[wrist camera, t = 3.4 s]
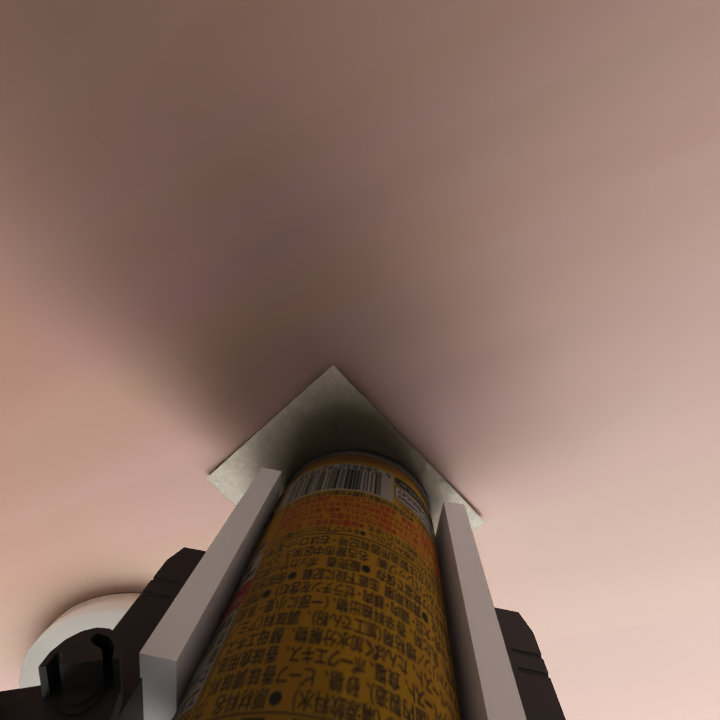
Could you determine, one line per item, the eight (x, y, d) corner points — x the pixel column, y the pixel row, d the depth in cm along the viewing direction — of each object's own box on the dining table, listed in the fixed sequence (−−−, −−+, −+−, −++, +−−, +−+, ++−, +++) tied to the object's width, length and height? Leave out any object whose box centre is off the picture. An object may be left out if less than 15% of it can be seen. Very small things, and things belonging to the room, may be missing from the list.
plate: (24, 567, 17) (-6, 592, 15) (312, 626, 16) (306, 657, 15) (52, 758, 21) (30, 791, 19) (287, 814, 20) (279, 851, 19)
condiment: (349, 606, 16) (224, 1589, 4) (208, 475, 14) (-526, 1311, 3) (484, 518, 14) (948, 1810, 2) (334, 361, 13) (-248, 1332, 1)
